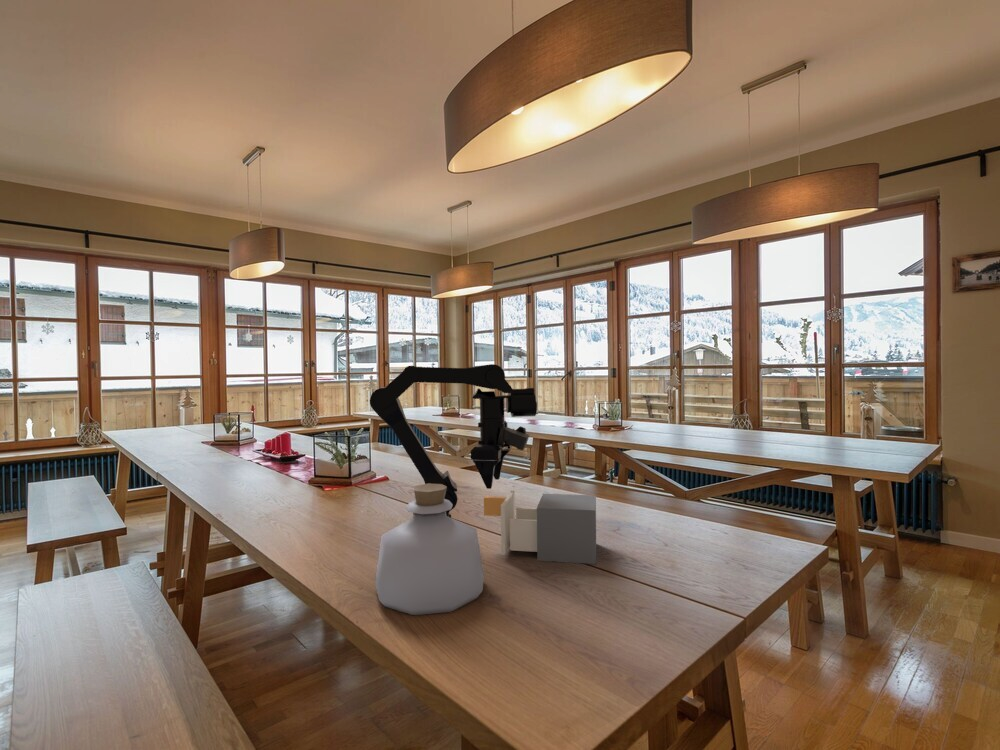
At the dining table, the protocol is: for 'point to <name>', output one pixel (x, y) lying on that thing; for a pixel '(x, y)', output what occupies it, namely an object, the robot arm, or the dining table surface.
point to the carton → (566, 528)
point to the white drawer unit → (513, 523)
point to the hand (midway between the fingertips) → (493, 483)
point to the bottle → (429, 558)
